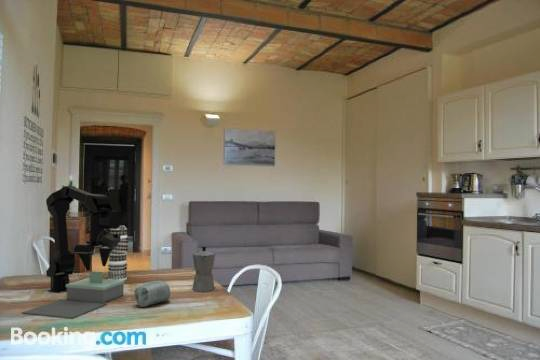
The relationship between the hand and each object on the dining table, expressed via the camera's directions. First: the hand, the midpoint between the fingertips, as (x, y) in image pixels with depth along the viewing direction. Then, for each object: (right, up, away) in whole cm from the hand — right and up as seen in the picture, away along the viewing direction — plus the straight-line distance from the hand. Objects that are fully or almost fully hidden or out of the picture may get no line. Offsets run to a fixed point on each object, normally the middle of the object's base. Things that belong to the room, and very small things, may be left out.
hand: (96, 268), depth 158 cm
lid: (0, -8, 0) cm, 8 cm away
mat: (-4, -11, -15) cm, 19 cm away
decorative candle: (-4, -13, +34) cm, 36 cm away
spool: (+24, -12, -8) cm, 28 cm away
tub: (0, -11, 0) cm, 11 cm away
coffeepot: (+38, -13, +16) cm, 44 cm away
